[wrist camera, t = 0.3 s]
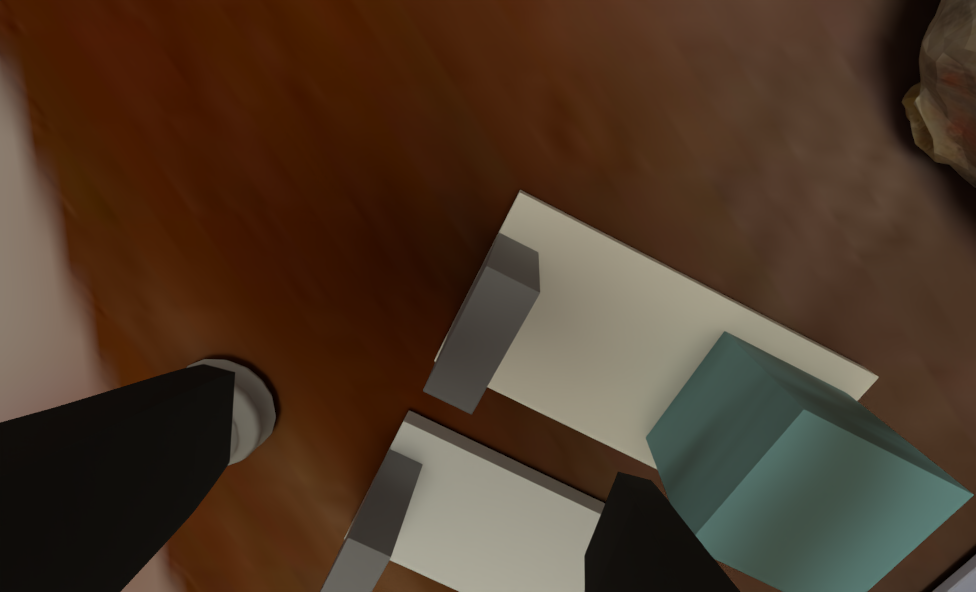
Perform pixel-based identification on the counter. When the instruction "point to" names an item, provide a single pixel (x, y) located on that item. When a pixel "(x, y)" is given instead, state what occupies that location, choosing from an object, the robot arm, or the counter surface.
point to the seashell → (947, 89)
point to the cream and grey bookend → (465, 519)
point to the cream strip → (599, 331)
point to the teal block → (794, 475)
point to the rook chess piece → (247, 409)
